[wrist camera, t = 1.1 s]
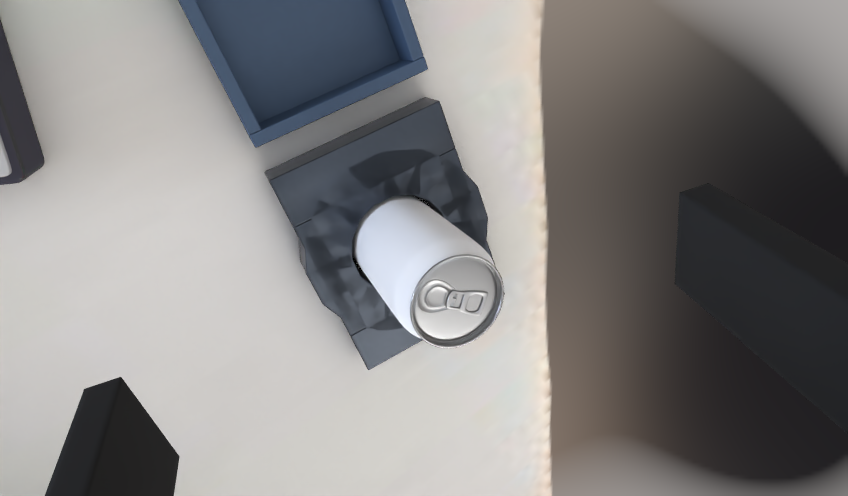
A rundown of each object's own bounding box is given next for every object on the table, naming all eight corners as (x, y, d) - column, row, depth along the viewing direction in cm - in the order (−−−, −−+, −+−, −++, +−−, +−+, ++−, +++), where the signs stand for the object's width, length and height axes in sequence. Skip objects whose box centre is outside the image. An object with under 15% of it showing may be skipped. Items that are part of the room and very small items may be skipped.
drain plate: (496, 277, 45) (512, 290, 43) (352, 357, 43) (360, 374, 41) (433, 92, 38) (448, 96, 36) (254, 176, 36) (258, 185, 33)
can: (360, 181, 38) (423, 237, 28) (442, 200, 41) (526, 257, 31) (337, 267, 40) (388, 350, 29) (417, 279, 43) (489, 359, 32)
